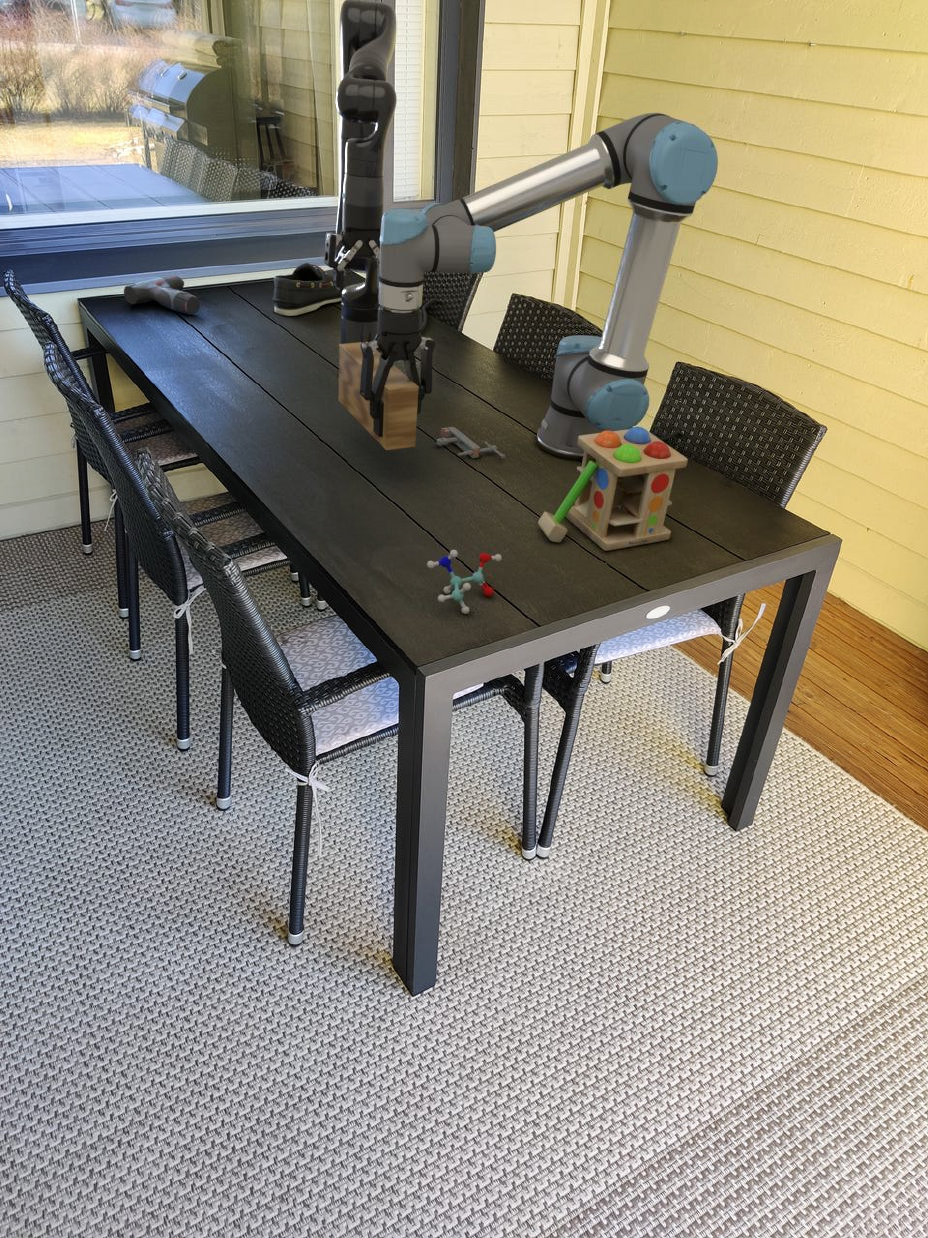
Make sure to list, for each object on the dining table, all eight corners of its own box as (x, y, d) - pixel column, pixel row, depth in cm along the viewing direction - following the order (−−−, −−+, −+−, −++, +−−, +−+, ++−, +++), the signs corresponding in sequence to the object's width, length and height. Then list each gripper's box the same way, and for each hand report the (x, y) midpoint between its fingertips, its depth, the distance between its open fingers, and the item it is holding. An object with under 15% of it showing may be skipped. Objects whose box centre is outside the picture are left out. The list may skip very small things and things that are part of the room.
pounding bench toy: (563, 559, 168) (578, 464, 158) (523, 521, 178) (535, 429, 168) (671, 539, 177) (692, 448, 167) (627, 503, 188) (644, 416, 178)
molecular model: (493, 609, 147) (472, 545, 146) (437, 624, 151) (416, 563, 149) (514, 592, 158) (494, 533, 156) (461, 607, 161) (442, 549, 160)
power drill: (228, 285, 263) (174, 269, 271) (176, 299, 250) (121, 282, 258) (229, 305, 266) (176, 289, 274) (178, 320, 253) (123, 303, 261)
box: (338, 400, 197) (339, 343, 190) (365, 397, 199) (367, 341, 193) (386, 450, 179) (388, 389, 173) (415, 446, 182) (418, 386, 175)
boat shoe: (367, 296, 285) (368, 259, 280) (292, 317, 262) (291, 278, 256) (333, 288, 291) (332, 251, 286) (256, 308, 267) (254, 269, 262)
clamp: (428, 429, 204) (470, 423, 208) (427, 439, 205) (469, 432, 209) (464, 459, 193) (507, 451, 198) (463, 469, 194) (506, 461, 199)
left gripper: (334, 204, 177) (332, 295, 186) (406, 204, 183) (401, 292, 192) (320, 195, 182) (319, 284, 191) (390, 196, 188) (386, 282, 197)
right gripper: (356, 317, 162) (354, 446, 175) (458, 309, 170) (448, 433, 183) (340, 303, 167) (339, 429, 180) (439, 296, 175) (431, 418, 188)
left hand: (360, 288), depth 191 cm, fingers open, 8 cm apart
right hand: (394, 431), depth 182 cm, fingers closed on box, 6 cm apart
